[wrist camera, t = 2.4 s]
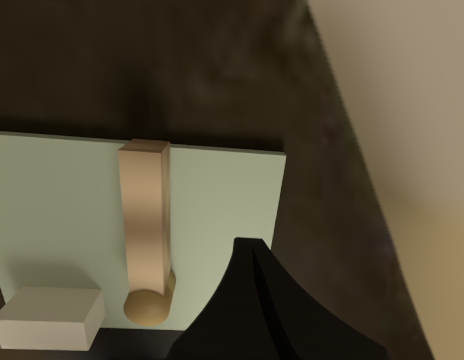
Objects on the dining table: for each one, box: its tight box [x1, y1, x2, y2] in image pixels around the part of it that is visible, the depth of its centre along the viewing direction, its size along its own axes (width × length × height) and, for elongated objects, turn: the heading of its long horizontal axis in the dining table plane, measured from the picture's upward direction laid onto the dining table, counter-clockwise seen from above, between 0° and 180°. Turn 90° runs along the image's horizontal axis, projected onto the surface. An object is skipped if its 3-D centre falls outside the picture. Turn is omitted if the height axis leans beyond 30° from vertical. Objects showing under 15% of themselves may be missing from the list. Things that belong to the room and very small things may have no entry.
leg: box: [118, 139, 176, 326], centre depth 20 cm, size 15×4×3 cm, turn 175°
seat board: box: [0, 131, 286, 330], centre depth 23 cm, size 19×24×1 cm
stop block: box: [0, 286, 105, 351], centre depth 23 cm, size 3×7×4 cm, turn 85°
